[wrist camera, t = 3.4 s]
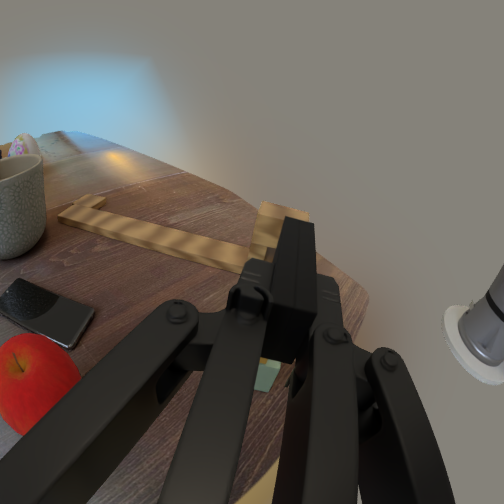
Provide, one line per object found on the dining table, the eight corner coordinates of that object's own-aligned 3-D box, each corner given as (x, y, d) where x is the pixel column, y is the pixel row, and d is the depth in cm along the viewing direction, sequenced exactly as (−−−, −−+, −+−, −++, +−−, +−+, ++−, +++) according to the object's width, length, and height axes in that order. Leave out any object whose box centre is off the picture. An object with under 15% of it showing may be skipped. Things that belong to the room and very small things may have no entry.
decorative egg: (3, 184, 57) (-1, 138, 49) (28, 171, 68) (26, 129, 60) (21, 188, 57) (18, 138, 49) (48, 174, 67) (47, 128, 59)
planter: (30, 215, 47) (23, 150, 39) (66, 239, 43) (58, 159, 35) (-27, 248, 33) (-44, 177, 25) (-3, 284, 29) (-29, 195, 21)
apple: (36, 378, 21) (-9, 300, 15) (106, 389, 24) (76, 312, 17) (24, 450, 14) (-45, 391, 7) (104, 469, 16) (51, 426, 10)
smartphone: (70, 348, 25) (-9, 305, 24) (72, 354, 26) (-6, 311, 25) (96, 307, 31) (18, 275, 31) (97, 313, 32) (20, 281, 31)
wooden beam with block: (293, 250, 55) (310, 194, 49) (289, 294, 43) (312, 227, 37) (88, 199, 57) (86, 151, 51) (49, 225, 45) (42, 169, 39)
